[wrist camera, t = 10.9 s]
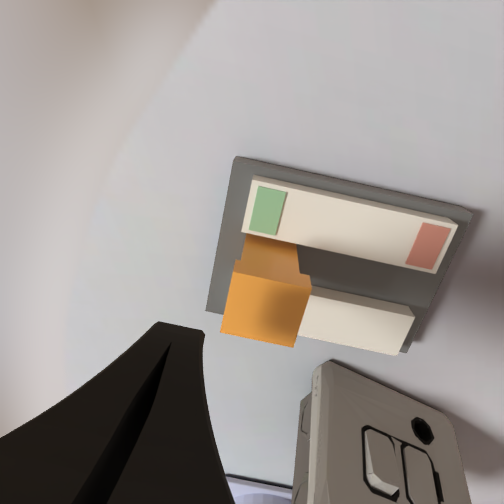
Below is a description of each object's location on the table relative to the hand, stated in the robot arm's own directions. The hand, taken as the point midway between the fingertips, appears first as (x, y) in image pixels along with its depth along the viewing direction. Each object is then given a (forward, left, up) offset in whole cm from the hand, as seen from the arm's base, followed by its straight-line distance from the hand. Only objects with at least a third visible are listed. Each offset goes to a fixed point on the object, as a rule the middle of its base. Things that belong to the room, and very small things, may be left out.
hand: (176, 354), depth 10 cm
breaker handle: (0, -2, -8) cm, 8 cm away
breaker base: (0, -6, -9) cm, 11 cm away
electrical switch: (-10, -11, -10) cm, 18 cm away
